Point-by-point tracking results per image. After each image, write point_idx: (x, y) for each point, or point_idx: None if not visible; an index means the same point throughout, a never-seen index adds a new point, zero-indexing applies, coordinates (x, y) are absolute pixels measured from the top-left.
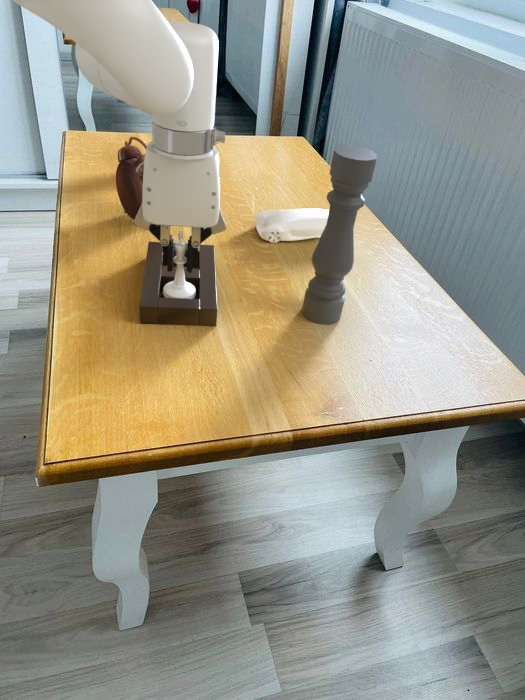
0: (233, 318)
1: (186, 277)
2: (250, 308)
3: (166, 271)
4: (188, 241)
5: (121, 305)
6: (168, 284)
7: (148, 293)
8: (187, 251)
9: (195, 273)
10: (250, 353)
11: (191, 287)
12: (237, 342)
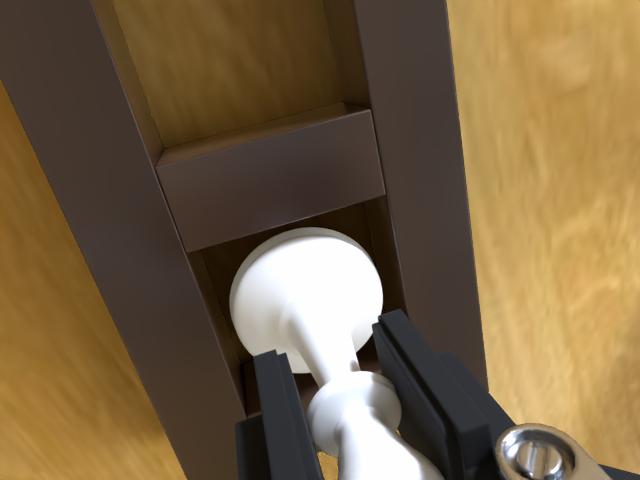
0: (503, 282)
1: (320, 212)
2: (561, 198)
3: (199, 197)
4: (457, 473)
5: (71, 366)
6: (255, 313)
7: (192, 409)
8: (420, 434)
9: (358, 159)
10: (551, 418)
11: (365, 293)
12: (517, 390)
